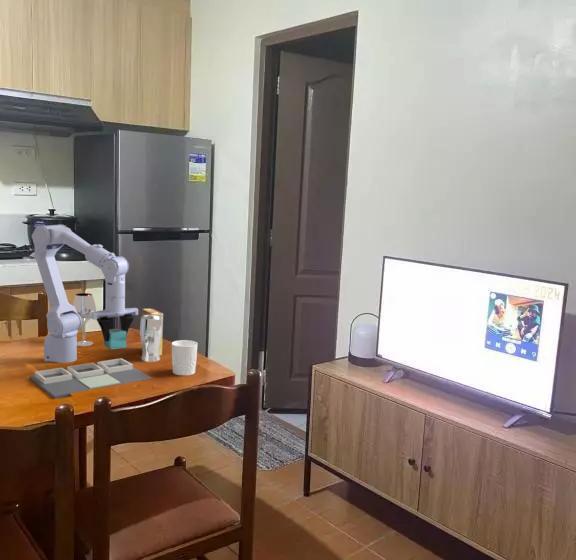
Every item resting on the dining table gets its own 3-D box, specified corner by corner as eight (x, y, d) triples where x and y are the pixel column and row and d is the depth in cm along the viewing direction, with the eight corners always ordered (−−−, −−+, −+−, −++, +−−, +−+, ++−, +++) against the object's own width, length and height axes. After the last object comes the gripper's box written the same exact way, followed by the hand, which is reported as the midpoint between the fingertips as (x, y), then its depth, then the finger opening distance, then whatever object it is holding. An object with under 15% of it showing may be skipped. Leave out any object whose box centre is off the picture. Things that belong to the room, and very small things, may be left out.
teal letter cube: (104, 345, 188) (104, 329, 188) (119, 343, 192) (119, 327, 191) (110, 349, 185) (111, 333, 184) (126, 347, 188) (126, 331, 187)
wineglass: (68, 343, 218) (67, 293, 215) (89, 339, 223) (89, 291, 221) (77, 348, 212) (77, 297, 209) (99, 344, 217) (100, 295, 215)
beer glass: (156, 365, 197) (156, 320, 194) (136, 363, 198) (136, 318, 196) (164, 359, 204) (165, 315, 201) (145, 357, 205) (145, 314, 203)
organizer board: (29, 378, 178) (29, 370, 178) (122, 363, 197) (122, 356, 197) (54, 398, 163) (54, 390, 163) (152, 380, 182) (152, 373, 181)
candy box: (140, 352, 211) (141, 308, 209) (152, 350, 214) (153, 307, 211) (151, 358, 204) (151, 313, 202) (163, 356, 207) (163, 312, 204)
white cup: (174, 370, 193) (174, 339, 191) (198, 371, 193) (199, 340, 191) (168, 377, 185) (169, 345, 184) (194, 379, 185) (195, 347, 183)
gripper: (97, 300, 178) (97, 345, 180) (143, 296, 188) (142, 339, 190) (88, 296, 183) (88, 340, 185) (132, 292, 193) (132, 334, 195)
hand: (115, 339), depth 188 cm, fingers closed on teal letter cube, 5 cm apart
